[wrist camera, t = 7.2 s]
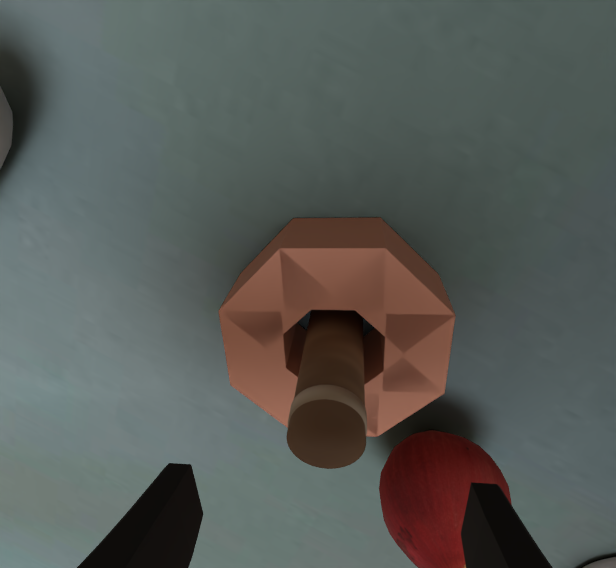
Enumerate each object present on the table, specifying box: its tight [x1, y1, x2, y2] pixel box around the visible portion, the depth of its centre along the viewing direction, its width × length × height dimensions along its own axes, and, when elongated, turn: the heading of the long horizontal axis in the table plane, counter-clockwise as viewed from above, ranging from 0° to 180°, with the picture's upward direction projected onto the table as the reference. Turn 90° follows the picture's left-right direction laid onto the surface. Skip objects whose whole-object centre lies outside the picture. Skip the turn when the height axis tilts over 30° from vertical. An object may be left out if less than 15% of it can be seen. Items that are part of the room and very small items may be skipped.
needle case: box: [287, 310, 367, 469], centre depth 16 cm, size 2×2×8 cm
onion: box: [379, 430, 511, 568], centre depth 19 cm, size 6×6×8 cm
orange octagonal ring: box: [219, 217, 455, 437], centre depth 18 cm, size 9×9×4 cm
